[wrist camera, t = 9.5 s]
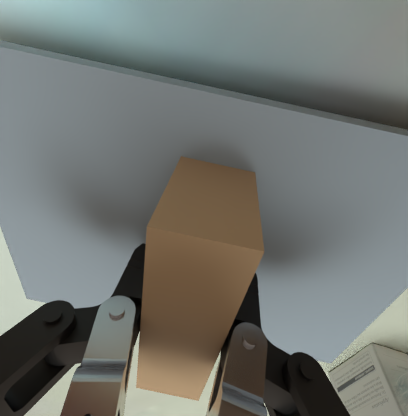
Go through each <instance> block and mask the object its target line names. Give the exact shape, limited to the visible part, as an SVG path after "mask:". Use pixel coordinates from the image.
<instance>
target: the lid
mask: <svg viewBox="0 0 408 416" xmlns="http://www.w3.org/2000/svg"><path fill="white" fill-rule="evenodd" d="M0 227H1V229H2V232H3V235H4V238H5V240H6V243H7V246H8V249H9V251H10V254H11V257H12V259H13V262H14V265H15V268H16V270H17V273H18V276H19V279H20V281H21V284H22V287H23V290H24V292H25V295H26V298H27V299H31V300H36V301H40V302H45V303H49V302H51V301H56V300H63V301H67V302H69V303H71V304H72V306H73V307H74V309H75V308H85V307H93V306H97V305H100V304H102V303H103V302H104V301H105V300H107V299H108V298H110V297H111V296H112V294H113V292H114V290H115V288H116V286H117V284H118V282H119V280H120V278H121V276H122V274H123V272H124V270H125V268H126V267H127V264H128V262H129V260H130V258H131V256H132V254H133V252H134V250H135V249H136V248H137V247H138V246H140V245H141V244H142V243H144V244H146V247H145V263H144V278H143V293H142V309H141V324H140V339H139V355H138V370H137V385H136V388H141V389H146V390H150V391H155V392H160V393H165V394H169V395H174V396H179V397H184V398H188V399H193V400H199V398H200V396H201V393H202V391H203V389H204V387H205V384H206V382H207V380H208V378H209V375H210V373H211V371H212V369H213V366H214V364H215V362H216V360H217V357H218V355H219V353H220V351H221V348H222V346H223V344H224V342H225V339H226V337H227V335H228V333H229V330H230V328H231V326H232V324H233V321H234V319H235V317H236V315H237V312H238V310H239V308H240V306H241V303H242V301H243V299H244V297H245V294H246V292H247V290H248V288H249V285H250V283H251V281H252V279H253V276H254V274H255V273H256V275H257V278H258V292H259V294H258V295H259V305H260V319H261V328H262V331H263V333H264V334H265V336H266V338H267V339H268V340H269V341H270V342H271V343H272V344H273V345H274V346H276V347H278V348H279V349H281V350H283V351H285V352H286V353H288V354H290V355H292V354H293V353H295V352H303V353H306V354H308V355H310V356H312V357H313V358H314V359H315V360H317V361H322V362H327V363H332V362H333V361H334V360H335V359H336V358H337V357H338V356H339V355H340V354H341V353H342V352H343V351H344V350H345V349H346V348H347V347H348V346H349V345H350V344H351V343H352V342H353V341H354V340H355V339H356V338H357V337H358V336H359V335H360V334H361V333H362V332H363V331H364V330H365V329H366V328H367V327H368V326H369V325H370V324H371V323H372V322H373V321H374V320H375V319H376V318H377V317H378V316H379V315H380V314H381V313H382V312H383V311H384V310H385V309H386V308H387V307H388V306H389V305H390V304H391V303H392V302H393V301H394V300H395V299H396V298H397V297H398V296H400V295H401V294H402V293H403V292H404V291H405V290H406V289H407V288H408V130H406V129H402V128H397V127H393V126H388V125H384V124H379V123H375V122H370V121H365V120H361V119H356V118H352V117H347V116H343V115H338V114H334V113H329V112H324V111H320V110H315V109H311V108H306V107H302V106H297V105H293V104H288V103H284V102H279V101H274V100H270V99H265V98H261V97H256V96H252V95H247V94H243V93H238V92H233V91H229V90H224V89H220V88H215V87H211V86H206V85H202V84H197V83H193V82H188V81H183V80H179V79H174V78H170V77H165V76H161V75H156V74H152V73H147V72H142V71H138V70H133V69H129V68H124V67H120V66H115V65H111V64H106V63H102V62H97V61H92V60H88V59H83V58H79V57H74V56H70V55H65V54H61V53H56V52H52V51H47V50H42V49H38V48H33V47H29V46H24V45H20V44H15V43H11V42H6V41H1V40H0Z"/></svg>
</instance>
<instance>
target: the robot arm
mask: <svg viewBox="0 0 408 416" xmlns="http://www.w3.org/2000/svg"><path fill="white" fill-rule="evenodd" d="M145 247H146V244H144V243H142V244H141V245H140V246H138V247H137V248H136V249H135V250H134V252H133V254H132V256H131V258H130V260H129V262H128V264H127V267H126V268H125V270H124V272H123V274H122V276H121V278H120V280H119V282H118V284H117V286H116V288H115V290H114V292H113V294H112V296H111V297H110V298H108V299H107V300H105V301H104V302H103V303H102V304H100V305H97V306H93V307H85V308H75V309H74V307H73V306H72V304H71V303H69V302H67V301H63V300H56V301H51V302H49V303H46V304H44V305H43V306H41V307H40V308H38V309H37V310H36V311H34V312H33V313H32V314H30V315H29V316H27V317H26V318H25V319H23V320H22V321H21V322H19V323H18V324H16V325H15V326H14V327H12V328H11V329H10V330H8V331H7V332H5V333H4V334H3V335H1V336H0V416H24V415H25V414H26V413H27V412H28V411H29V410H30V409H31V408H32V407H33V406H34V405H35V404H36V403H37V402H38V401H39V400H40V399H41V398H42V397H43V396H44V395H45V394H46V393H47V392H48V391H49V390H50V389H51V388H52V387H53V386H54V385H55V384H56V383H57V382H58V381H59V380H60V379H61V378H62V377H63V376H64V375H65V374H66V373H67V372H68V371H69V370H70V369H71V368H72V367H73V366H74V365H75V364H77V363H81V365H80V366H79V367H78V368H77V369H76V371H75V373H74V375H73V378H72V381H71V384H70V387H69V390H68V393H67V396H66V399H65V403H64V406H63V409H62V412H61V415H60V416H124V409H125V400H126V393H127V387H128V381H129V375H130V369H131V362H132V356H133V350H134V345H135V343H136V340H137V337H138V334H139V331H140V324H141V309H142V293H143V278H144V263H145ZM258 294H259V292H258V278H257V275H256V273H255V274H254V276H253V279H252V281H251V283H250V285H249V288H248V290H247V292H246V294H245V297H244V299H243V301H242V303H241V306H240V308H239V310H238V312H237V315H236V317H235V319H234V321H233V324H232V326H231V328H230V330H229V333H228V335H227V337H226V339H225V342H224V344H223V346H222V348H221V357H220V361H219V363H218V367H217V371H216V375H215V379H214V384H213V388H212V392H211V396H210V401H209V405H208V409H207V413H206V416H267V410H268V412H269V415H270V416H350V414H349V412H348V411H347V409H346V407H345V406H344V404H343V402H342V401H341V399H340V397H339V396H338V394H337V392H336V391H335V389H334V387H333V386H332V384H331V382H330V381H329V379H328V377H327V376H326V374H325V372H324V371H323V369H322V367H321V366H320V364H319V363H318V362H317V361H316V360H315V359H314V358H313V357H312V356H310V355H308V354H306V353H303V352H295V353H293V354H292V355H290V354H288V353H286V352H285V351H283V350H281V349H279V348H278V347H276V346H274V345H273V344H272V343H271V342H270V341H269V340H268V339H267V338H266V336H265V334H264V333H263V331H262V328H261V319H260V305H259V295H258ZM263 402H264V403H265V405H266V407H267V410H266V407H265V406H264V403H263Z"/></svg>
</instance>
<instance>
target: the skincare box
mask: <svg viewBox="0 0 408 416" xmlns="http://www.w3.org/2000/svg"><path fill="white" fill-rule="evenodd" d="M329 377H330V380H331V383H332V386H333V387H334V389H335V391H336V392H337V394H338V396H339V397H340V399H341V401H342V402H343V404H344V406H345V407H346V409H347V411H348V412H349V414H350V416H408V354H406V353H402V352H399V351H396V350H393V349H390V348H387V347H384V346H381V345H377V344H374V343H371V344H369V345H368V346H366V347H365V348H363V349H362V350H361V351H359V352H358V353H357V354H355V355H354V356H353V357H352V358H350V359H348V360H347V361H345V362H344V363H342V364H341V365H340V366H338V367H337V368H335V369H334V370H332V371H331V372H330V373H329Z"/></svg>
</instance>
